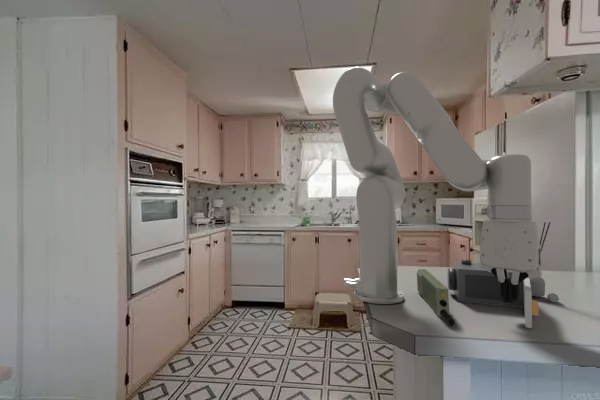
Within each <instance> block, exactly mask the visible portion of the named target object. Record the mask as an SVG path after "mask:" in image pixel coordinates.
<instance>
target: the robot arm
mask: <svg viewBox="0 0 600 400" xmlns="http://www.w3.org/2000/svg"><path fill="white" fill-rule="evenodd" d="M332 108H333V113H334V116H335V120H336V122H337V126H338V129H339V132H340V136H341V139H342V142H343V145H344V146H343V147H344V148H345V152H346V155H347V158H348V162H349V164H350V166H351V167H352V169H353V170H355V171H356V172H358V173H361V174H364V175H365V178H364V179H363V180H361V182H360V183H359V185H358V186H357V189H356V194H355V200H356V206H357V207H356V208H357V213H358V214H357V215H358V224H359V227H358V228H359V229H358V233H359V234H358V236H359V277H356V278H355V279H352V278H344V279H343V286H345V287H346V288H355V289H354V290H353V297H355V299H356V300H359V301H361V302H365V303H370V304H377V305H391V304H393V305H394V304H397V303H401V302H403V301H404V299H405V294H404V293H403V292H402V291H401V290H398V289H399V287H398V285H399V284H398V282H399V280H398V226H397V222H398V221H397V214H396V210H398V209H399V208H400V207H401V206H402V205H403V204H404V202H405V198H406V189H405V185H404V182H403V179H402V177H401V174H400V171H399V168H398V165H397V163H396V160H395V157H394V155H393V153H392V151H391V150H390V149H389V147H388V146H387V145H385V144H383V143H382V142H380V141H379V140H378V138H377V135H376V133H375V131H374V129H373V125H372V121H371V120H370V119H371V118H370V117H369V114H368V113H367V111H368V112H372V113H381V114H391V115H399V116H400V117H401V119H403V122H404V123H405V124H406V125H407V127H408V128H409V130H410V131H411V133H412V134H413V136H414V137H415V138H416V140H417V142H418V143H420V145H421V146H422V147H423V149H424V151H425V152H426V153H427V155H428V156H429V158H430V159H431V160H432V162H433V163H434V165H435V166H436V167H437V169H438V170H439V172H440V173H441V174H442V176H443V177H444V179H445V180H446V181H447V182H448V184H449V185H451V186H452V187H453V188H456V189H458V190H460V191H463V192H476V191H481V190H482V191H484V190H487V193H488V195H487V200H488V202H487V203H488V205H487V207H485V208H481V210H480V212H481V215H485V216H486V217H487V218H488V219H484V220H483V223H482V227H481V235H480V243H479V244H480V245H479V262H480V263H481V269H483V270H485V271H488V272H491V273H493V274H494V275H495V277H496V278H497V279H498V281H499V282H501V297H503V302H505V303H507V302H509V303H510V304H513V303H515V302H516V301H517V300H519V283H520V282H522V281H523V280H525V279H526V278H539V277H541V278H542V276H543V272H542V269H541V265H542V251H540V250H541V245H540V238H539V237H540V236H539V231H538V226H537V222H536V221H532V215H533V214H532V212H533V211H532V160H531V158H530V157H529V156H527V155H526V154H525V155H524V154H520V153H519V154H501V155H497V156H494V157H492V158H490V159H482V158H481V157H480V155H478V153H477V152H476V150H474V148H473V146H472V145H470V143H469V142H468V140H467V139H466V138H465V137H464V136H463V134H462V133H461V132H460V131H459V129H458V128H457V126H455V125H456V124H454V122H453V120H452V118H451V116H450V115H449V113H448V112H447V111H446V109H445V108H444V107H443V106H442V105H441V104H440V102H439V101H438V100H437V98H436V97H435V96H434V95H433V93H432V92H431V91H430V90H429V88H428V87H427V86H426V85H425V83H424V82H423V81H422V80H421V78H420V77H419V76H418V75H417V74H415V73H413V72H412V71H401V72H398V73H396V74H394V75H393V76H392V77H391V78H390V80H389V81H388V82H382V81H381V80H379V79H378V77H376V76H375V74H373V73H372V72H371V71H370V70H369V69H366V68H364V67H361V66H360V67H359V66H355V67H350V68H348V69H347V70H345V71H344V72H343V73H342V74H341V76H340V77H339V79H338V80H337V82H336V84H335V87H334V90H333V95H332ZM507 270H513V273H512V279H511V281H510V279H509V277H508V272H507Z"/></svg>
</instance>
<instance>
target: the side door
mask: <svg viewBox="0 0 600 400" xmlns="http://www.w3.org/2000/svg"><path fill="white" fill-rule="evenodd" d="M532 299H533V297H532V291H531V286H530V278H526V279H525V280H523V306H524V307H523V313H524V324H525V328H528V329H533V316H535V317H536V316H537V317H538V316H539V301H538V300H532Z"/></svg>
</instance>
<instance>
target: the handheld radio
mask: <svg viewBox="0 0 600 400" xmlns="http://www.w3.org/2000/svg"><path fill="white" fill-rule="evenodd" d="M416 280H417V281H416V282H417V283H416V284H417V285H416V286H417V291H418V293H419V294H420V296H421V297H422V298H423V299H424V301H425V302H426V303H427V304H428V306H429V307H430V309H431V310H432V311H433V313H435V315H436V316H437V317H438V318H443V319H444V320H445V321H446V323H448V325H449V326H454V325H456V321H455V319H454V318H453V317H452V316H451V315H450V299H449V289H448V286H445V284H443V283H442V282H441V281H440V280H439V279H437V277H435V276H434V275H433V274H432V273H431V272H429V271H428V270H427V269H426V268H420V269H418V270H417V272H416Z"/></svg>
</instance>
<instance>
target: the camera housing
mask: <svg viewBox="0 0 600 400" xmlns="http://www.w3.org/2000/svg"><path fill="white" fill-rule="evenodd" d="M452 264H453V265H452V268H447V279H446V280H447V288H448V291H453V293H454V295H455V297H456V299H457V301H458V302H461V303H462V302H463V303H473V304H483V305H494V306H505V307H506V306H507V307H513V308H514V307H516V308H517V307H518V308H524V306H523V281H522V282H520V283H519V300H517V301H516V302H515V303H513V304H510V303H509V302H507V303H505V302H503V297H501V282H499V281H498V279H497V278H496V277H495V275H494V274H493V273H491V272H488V271H485V270H483V269H481V263H479V262H472V260H471V259H465V258H464V259H461V261H453V262H452ZM507 272H508V277H509V279H510V281H511V279H512V273H513V270H507Z"/></svg>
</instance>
